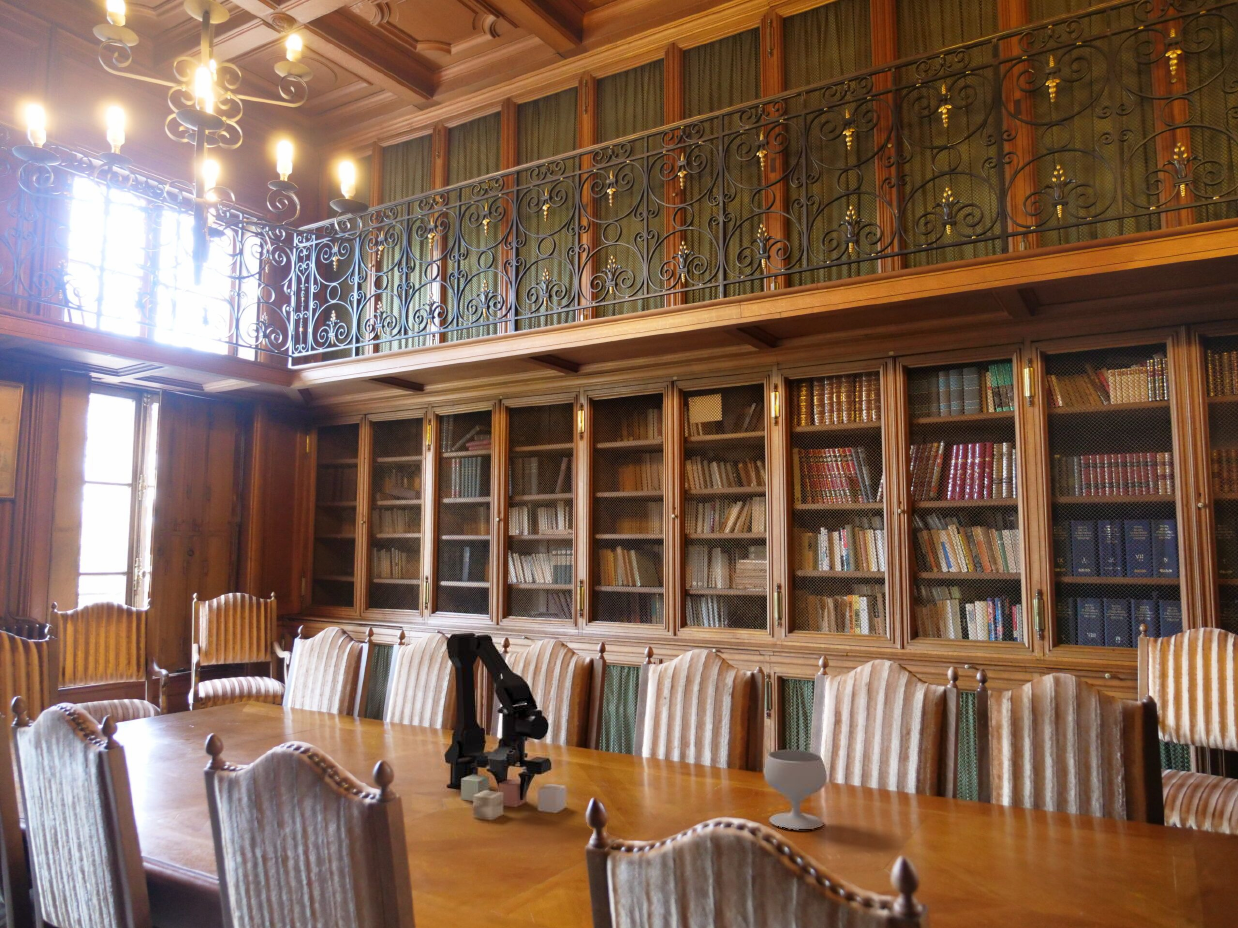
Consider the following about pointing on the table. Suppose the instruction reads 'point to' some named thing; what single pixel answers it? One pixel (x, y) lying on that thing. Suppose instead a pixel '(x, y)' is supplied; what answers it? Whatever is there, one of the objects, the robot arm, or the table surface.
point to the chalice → (795, 784)
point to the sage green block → (473, 786)
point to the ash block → (488, 805)
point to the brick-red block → (511, 792)
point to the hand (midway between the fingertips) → (512, 798)
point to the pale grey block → (552, 798)
